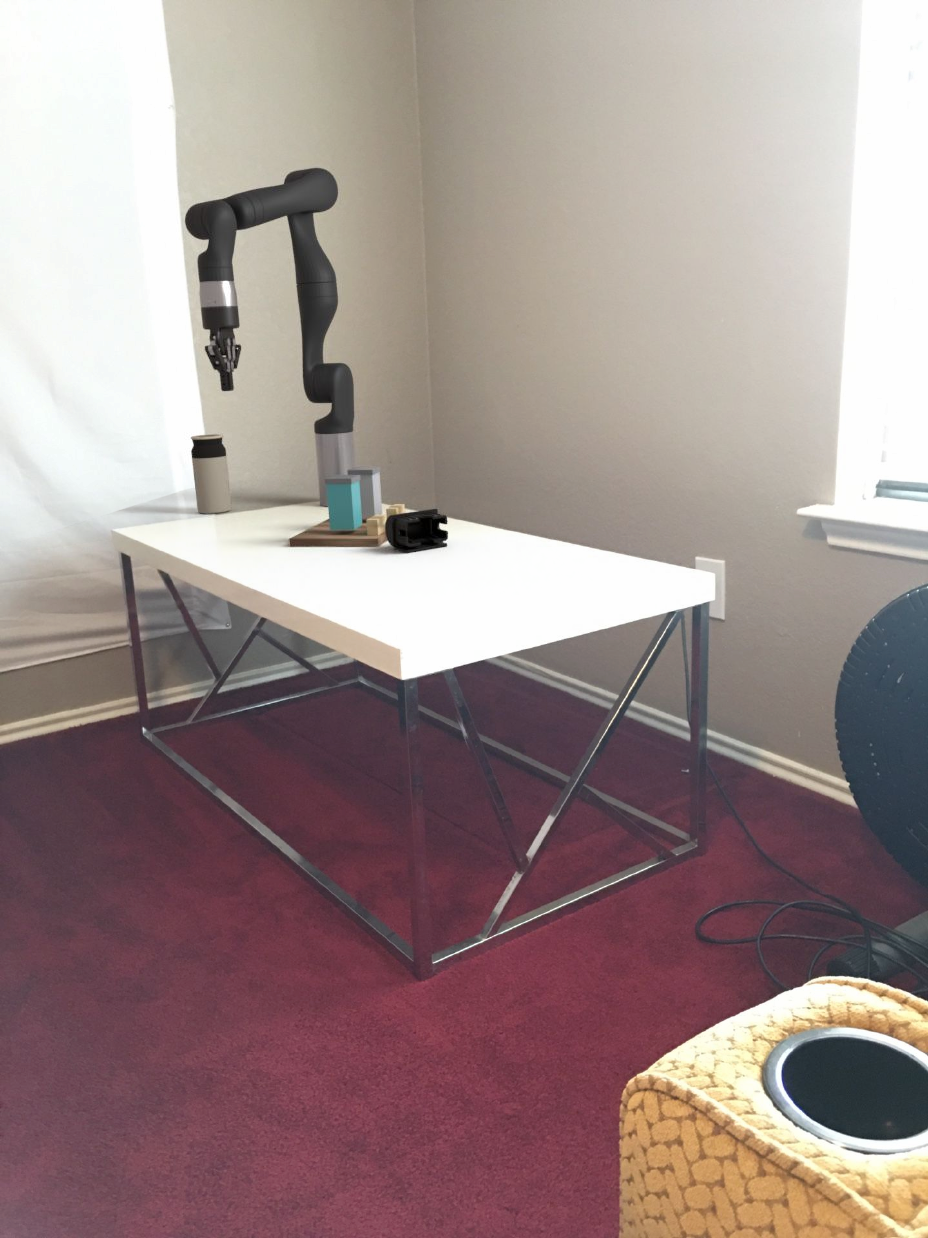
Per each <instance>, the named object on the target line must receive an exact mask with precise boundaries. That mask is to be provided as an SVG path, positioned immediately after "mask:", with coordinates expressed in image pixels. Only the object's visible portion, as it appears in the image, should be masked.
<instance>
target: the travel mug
mask: <svg viewBox="0 0 928 1238" xmlns="http://www.w3.org/2000/svg"><path fill="white" fill-rule="evenodd" d="M223 438H224V435H223V434H220V433H219V434H217V433H213V434H202V435H201V434H200V435H192V436H190V439H191V441H192V444H193V445H192V449H191V451H190V453H191V461H192V462H191V463H192V469H193V470H192V471H193V480H194V489H195V498H196V507H197V512H198V513H200V514H203V515H216V514H217V515H218V514H224V513H225V514H226V513H228V512H230V511H231V510H232V507H233V506H232V496H231V489H230V479H229V468H228V457H227V449H226V447H225V446H224V444H223Z"/></svg>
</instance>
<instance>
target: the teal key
mask: <svg viewBox="0 0 928 1238" xmlns="http://www.w3.org/2000/svg"><path fill="white" fill-rule="evenodd" d="M359 480H360V475H333V476H331V477H328V478H326V479H325V484H326V485H327V498H328V506H327V508H328V519H329V523H330V530H355V529H356V528H358V527H360V526H362V514H361V499H360V485H359Z"/></svg>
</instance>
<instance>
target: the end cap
mask: <svg viewBox="0 0 928 1238" xmlns="http://www.w3.org/2000/svg"><path fill="white" fill-rule="evenodd" d="M440 524H442V525H448V516H447V515H446V514H441V513H438V508H431V509H424V510H418V511H417V510H416V511H410V512H405V513H402V514H395V515H390V516H389V517H388V518H387V520H386V523H385V533H386V537H387V542H388V544H389V545H390V546H391V547H393V549H394V550H395V551H397V552H400V553H405V554H412V553H418V552H423V551H430V550H436V549H441V548H447V547H448V543H447V542H445V541H447V540H448V539H449V531H448V530H445V529H441V528H440Z"/></svg>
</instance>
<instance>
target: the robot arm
mask: <svg viewBox="0 0 928 1238" xmlns="http://www.w3.org/2000/svg"><path fill="white" fill-rule="evenodd" d="M338 195H339V187H338V183H337V180H336V178H335V175H333V174H332V173H331V172H330V170H327V169H326V168H321V167H311V168H310V167H309V168H304V169H298V170H294V171H291V172H289V173H288V174H286V176H285V178H284V180H283V184H276V185H271V186H265V187H260V188H258V187H257V188H253V189H250V190H246V191H245V190H244V191H242V192H239V193H235V194H232V195H230V196H227V197H224V198H219V199H214V200H208V201H204V202H198V203H195V204H193V205H192V206H190V207H189V208H188V209H187V211H186V213H185V216H184V217H185V219H184V224H185V228H186V229H187V232H188V233H189V234H190V235H191V236H193V237H194V238H196V239H197V240H202V241H207V242H208V243H207V248H206V249H205V250H204V251H203V252H201V253H200V254H198V256H197V273H198V274H197V275H198V282H199V292H198V296H199V302H200V303H199V304H200V313H201V323H202V329H203V330H205V331H207V330H208V331H209V345H204V351H205V353H206V355H207V358H208V359H209V362H210V364H211V366H212V368H213V370H214V371H217V373H218V374H219V381H220V390H221V392H232V391H234V389H235V387H234V377H233V373H234V371H235V370H236V369H238V365H239V361H240V356H241V351H242V345H241V344H240V343H239V344H238V343H236V335H235V332H234V329H239V328H240V316H239V315H240V313H239V304H238V294H237V289H236V284H235V277H234V276H235V275H234V266H233V257H234V252H235V246H236V239H237V238H236V237H237V231H243V230H247V229H251V228H254V227H257V226H260V225H264V224H266V223H269V222H273V221H275V220H278V219H281V218H284V217H287V222H288V223H287V224H288V228H289V233H290V239H291V240H290V241H291V246H292V247H291V248H292V254H293V261H294V271H295V284H296V295H297V302H298V303H297V304H298V309H299V310H298V311H299V320H300V331H301V349H302V350H301V351H302V352H301V355H302V359H301V360H302V384H303V389H304V393H305V396H306V398H307V399H308V401H309V402H310V403H312V404H331V409H330V412H329V413H328V414H326V415H325V416H323V417H321V418H319V419H316V420H315V421H314V423H313V429H314V441H315V442H314V443H315V451H316V453H315V454H316V465H317V466H316V467H317V477H318V478H317V479H318V491H319V492H318V493H319V503H320V504H319V505H320V506H322V507H328V498H327V485H326V484H325V479H326V478H328V477H331V476H333V475H348V472H347V470H349V469H352V468H354V467H357V462H356V461H357V460H356V450H355V449H356V448H355V434H354V422H355V421H354V420H355V394H354V393H355V391H354V390H355V386H354V377H353V372H352V370H351V368H350V366H349V365H347V364H346V363H343V362H327V363H326V362H325V361H324V343H325V339H326V335H327V333H328V330H329V329H330V326H331V324H332V322H333V320H334V317H335V315H336V313H337V310H338V306H339V295H338V285H337V283H338V282H337V276H336V272H335V269H334V267H333V265H332V262H331V261H330V259H329V258H328V256H327V254H326V253H325V251H324V250H323V248H322V246H321V244H320V242H319V240H318V236H317V233H316V227H315V221H314V214H316V213H324V212H327V211H328V210H330V209H332V208H333V207H334V205H335V204H336V202H337V201H338V200H337V199H338V197H339V196H338Z"/></svg>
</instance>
